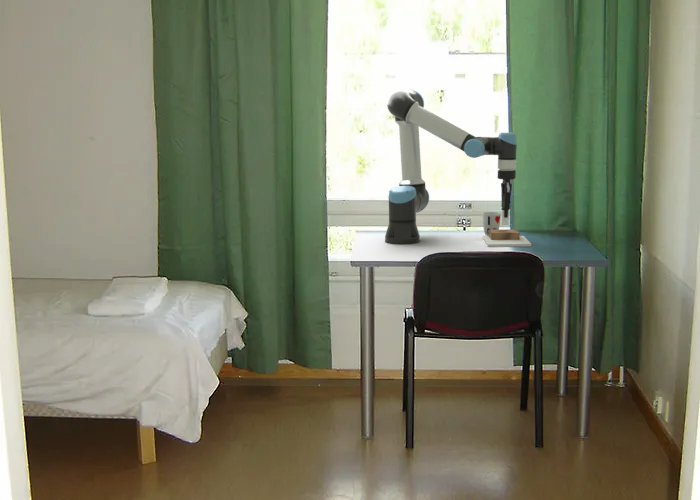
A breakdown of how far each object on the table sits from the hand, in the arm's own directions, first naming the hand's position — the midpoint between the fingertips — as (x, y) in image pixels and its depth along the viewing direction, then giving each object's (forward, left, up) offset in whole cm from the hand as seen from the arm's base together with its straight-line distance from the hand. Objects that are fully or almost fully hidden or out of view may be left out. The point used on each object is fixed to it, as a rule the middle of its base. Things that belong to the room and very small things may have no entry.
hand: (505, 224), depth 365 cm
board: (0, -1, -5) cm, 5 cm away
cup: (-4, +16, -8) cm, 18 cm away
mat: (0, -2, -7) cm, 8 cm away
